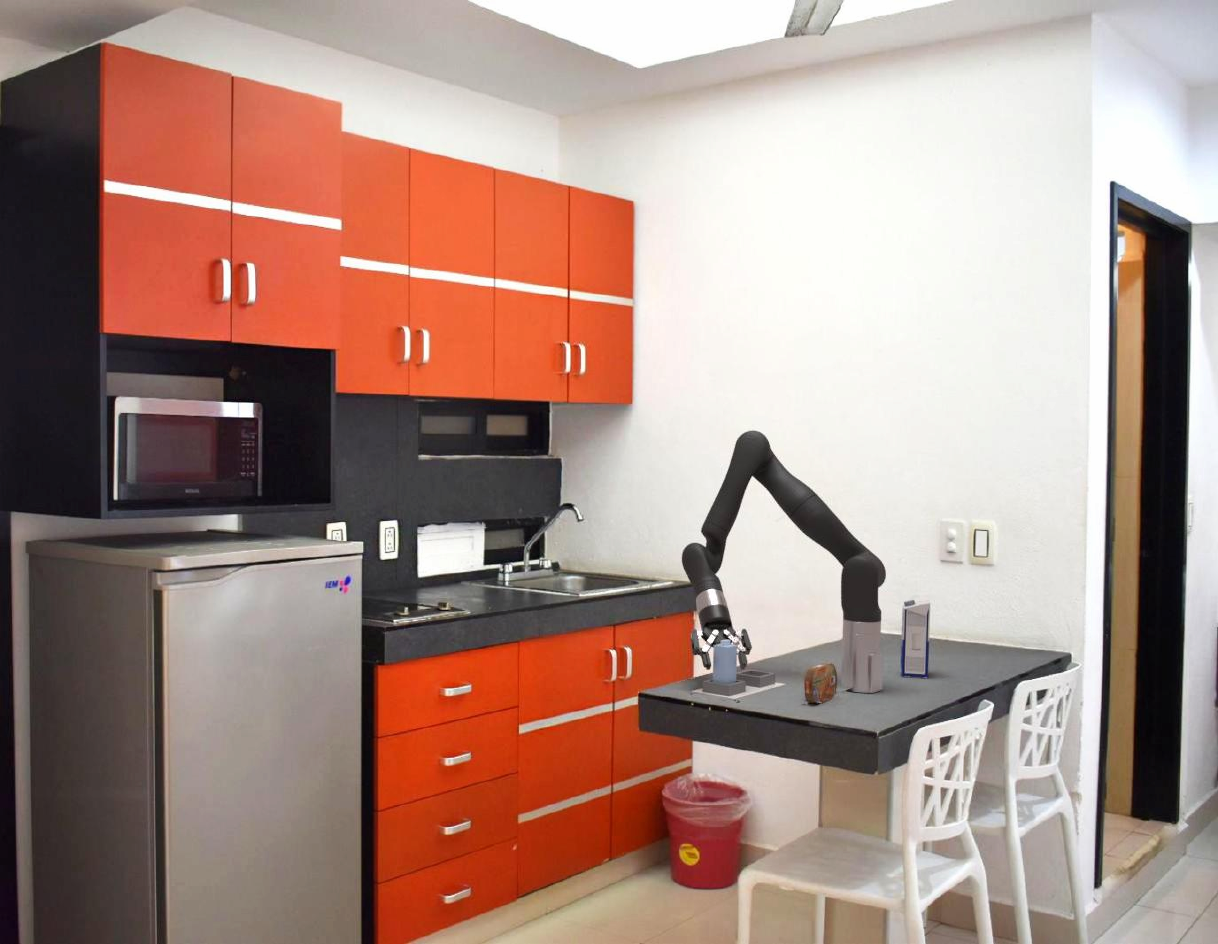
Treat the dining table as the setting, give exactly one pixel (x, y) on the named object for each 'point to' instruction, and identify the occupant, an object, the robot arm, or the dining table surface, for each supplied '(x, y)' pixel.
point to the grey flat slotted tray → (741, 685)
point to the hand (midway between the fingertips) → (726, 667)
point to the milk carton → (915, 638)
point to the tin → (820, 683)
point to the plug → (724, 663)
